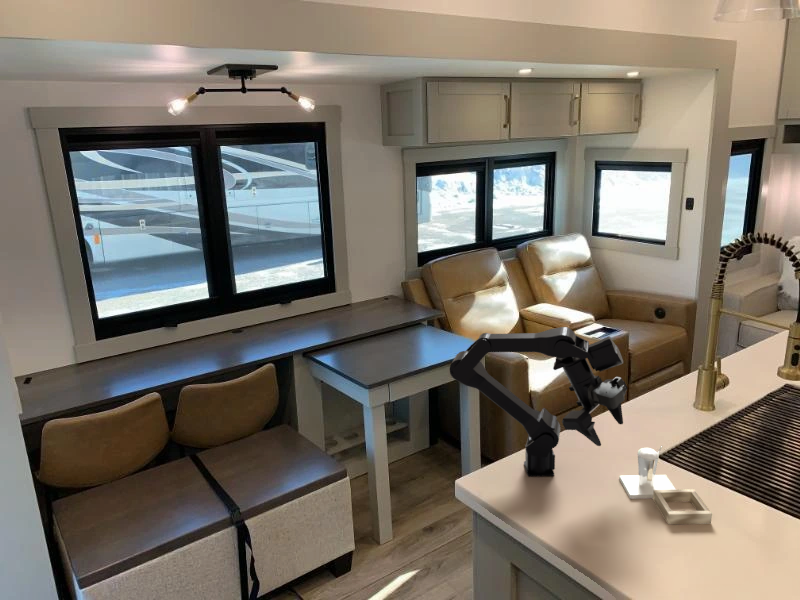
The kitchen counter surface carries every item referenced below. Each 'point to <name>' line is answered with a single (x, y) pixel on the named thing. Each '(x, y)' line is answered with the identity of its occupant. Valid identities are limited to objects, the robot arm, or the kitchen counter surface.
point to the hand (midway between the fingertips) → (610, 434)
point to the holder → (682, 517)
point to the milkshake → (647, 466)
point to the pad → (639, 492)
